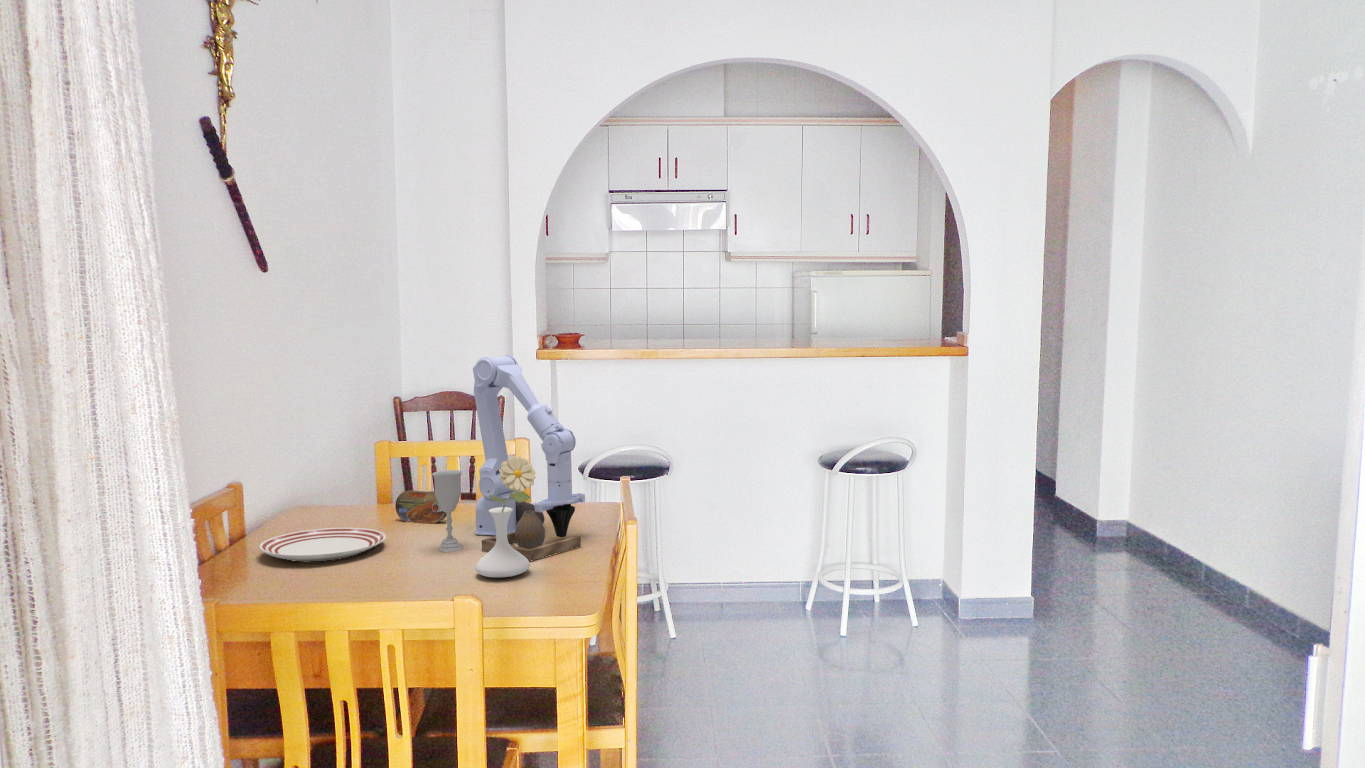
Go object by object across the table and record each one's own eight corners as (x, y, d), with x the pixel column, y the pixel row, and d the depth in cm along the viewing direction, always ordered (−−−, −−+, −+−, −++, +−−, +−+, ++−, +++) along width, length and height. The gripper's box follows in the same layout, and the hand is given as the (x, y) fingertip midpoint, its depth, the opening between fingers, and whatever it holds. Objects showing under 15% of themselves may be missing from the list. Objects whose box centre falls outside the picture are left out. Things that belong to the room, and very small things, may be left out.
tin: (395, 521, 243) (393, 490, 242) (402, 519, 246) (400, 488, 245) (445, 524, 238) (443, 492, 238) (451, 522, 241) (450, 490, 241)
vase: (548, 545, 216) (547, 508, 215) (541, 552, 209) (540, 515, 208) (520, 544, 216) (518, 508, 216) (511, 552, 210) (510, 514, 209)
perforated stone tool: (550, 528, 233) (549, 501, 232) (537, 532, 228) (536, 505, 228) (505, 521, 240) (504, 495, 240) (491, 526, 236) (490, 499, 235)
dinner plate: (334, 533, 232) (334, 520, 231) (411, 546, 218) (410, 532, 217) (233, 559, 208) (233, 545, 208) (312, 576, 194) (311, 560, 194)
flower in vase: (477, 584, 185) (472, 462, 183) (473, 569, 196) (469, 454, 194) (541, 578, 189) (538, 458, 187) (534, 563, 200) (531, 450, 198)
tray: (529, 562, 201) (528, 551, 201) (481, 550, 212) (481, 540, 211) (580, 547, 213) (580, 536, 213) (533, 536, 224) (533, 526, 224)
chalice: (456, 553, 209) (453, 476, 208) (429, 552, 211) (426, 475, 209) (470, 545, 216) (467, 470, 215) (443, 544, 218) (440, 469, 216)
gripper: (548, 487, 210) (549, 545, 211) (593, 477, 221) (594, 532, 223) (528, 483, 215) (529, 540, 216) (573, 474, 226) (574, 528, 227)
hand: (561, 536), depth 220 cm, fingers closed
